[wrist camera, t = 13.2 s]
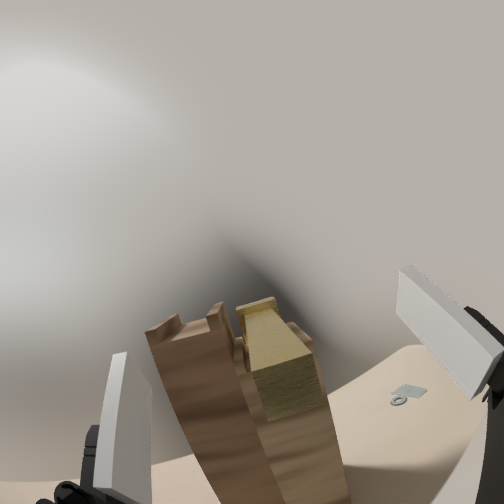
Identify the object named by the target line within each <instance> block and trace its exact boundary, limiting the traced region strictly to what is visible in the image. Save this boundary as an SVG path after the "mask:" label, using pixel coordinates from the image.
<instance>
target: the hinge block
mask: <svg viewBox="0 0 504 504" xmlns="http://www.w3.org/2000/svg"><path fill="white" fill-rule="evenodd" d="M286 325H287V326H288V327H289V328H290V329H291V330H292V332H293V333H294V334H295V335H296V336H297V337H298V338H299V339H300V340H301V341H302V343H303V344H304V345H305V346H306V347H307V348H308V349H309V350H310V351H311V352H312V355H313V359H314V363H315V367H316V370H317V374H318V378H319V382H320V386H321V390H322V394H323V398H324V402H325V404H323V405H320V406H317V407H315V408H312V409H309V410H306V411H303V412H300V413H296V414H293V415H290V416H287V417H284V418H280V419H277V420H273V421H270V422H268V420H267V417H266V414H265V411H264V408H263V405H262V402H261V399H260V396H259V393H258V390H257V387H256V384H255V381H254V378H253V375H252V372H251V365H250V357H249V348H248V344H247V345H244V341H243V338H242V337H239V338H234V334H233V331H232V328H231V325H230V321H229V318H228V315H227V312H226V309H225V305H224V302H220V303H216V304H215V305H214V306H213V307H212V309H211V310H210V311H209V313H208V314H207V315H206V318H204V319H201V320H196V321H193V322H189V323H185V324H181V322H180V319H179V315H178V314H176V315H172V316H169V317H168V318H166V319H165V320H163V321H161V322H160V323H158V324H157V325H155V326H153V327H152V328H150V329H149V330H147V331H145V334H146V337H147V340H148V343H149V346H150V349H151V352H152V355H153V358H154V361H155V363H156V366H157V369H158V372H159V374H160V377H161V380H162V382H163V385H164V387H165V390H166V392H167V395H168V397H169V400H170V402H171V404H172V407H173V409H174V412H175V414H176V416H177V418H178V421H179V423H180V425H181V427H182V430H183V432H184V434H185V436H186V438H187V440H188V442H189V444H190V446H191V449H192V451H193V452H194V455H195V457H196V459H197V461H198V463H199V464H200V466H201V468H202V470H203V472H204V474H205V476H206V478H207V480H208V481H209V483H210V485H211V487H212V489H213V490H214V492H215V494H216V495H217V497H218V499H219V501H220V502H221V504H351V501H350V496H349V491H348V487H347V482H346V477H345V472H344V467H343V463H342V458H341V454H340V449H339V445H338V440H337V436H336V432H335V427H334V423H333V419H332V414H331V410H330V406H329V402H328V398H327V394H326V390H325V386H324V382H323V378H322V374H321V370H320V366H319V363H318V358H317V354H316V351H315V347H314V343H313V340H312V339H311V338H310V337H309V336H308V335H307V334H306V333H304V332H303V331H302V330H301V329H300V328H299V327H298V326H297V325H296V324H295V323H293V322H289V323H286Z"/></svg>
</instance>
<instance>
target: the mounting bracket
mask: <svg viewBox="0 0 504 504" xmlns="http://www.w3.org/2000/svg"><path fill="white" fill-rule="evenodd" d="M426 391H427V390H426V389H425V388H420V387H416V386H412V385H407V384H405V385H402V386H401V387H399V388H398V389H397V390H396V391H394V392H393V393H392V394H393V395H399V396H397V397H394V398H393V399H392V400H391V405H394V406H398V405H401V404H403V403H405V402H406V397H405V396H407V397H414V398H420V397H421V396H422V395H423V394H424V393H425V392H426ZM397 399H402V401H401V402H398V403H396V402H394V401H395V400H397Z"/></svg>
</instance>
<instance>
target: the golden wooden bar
mask: <svg viewBox="0 0 504 504" xmlns="http://www.w3.org/2000/svg"><path fill="white" fill-rule="evenodd" d="M236 312H237V315H238V318H239V322H240V325H241V328H242V332H243V335H244V338H245V341H246V344H248V348H249V357H250V365H251V372H252V375H253V378H254V381H255V384H256V387H257V390H258V393H259V396H260V399H261V402H262V405H263V408H264V411H265V414H266V417H267V420H268V422H270V421H273V420H277V419H280V418H284V417H287V416H290V415H293V414H296V413H300V412H303V411H306V410H309V409H312V408H315V407H317V406H320V405H323V404H325V402H324V398H323V394H322V390H321V386H320V382H319V378H318V374H317V370H316V367H315V363H314V359H313V355H312V352H311V351H310V350H309V349H308V348H307V347H306V346H305V345H304V344H303V343H302V341H301V340H300V339H299V338H298V337H297V336H296V335H295V334H294V333H293V332H292V330H291V329H290V328H289V327H288V326H287V325H286V324H285V323H284V322H283V320H282V319H281V317H280V314H279V310H278V307H277V303H276V300H275V298H273V297H269V298H266V299H263V300H259V301H256V302H252V303H249V304H246V305H242V306H239V307H236Z"/></svg>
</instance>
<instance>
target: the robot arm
mask: <svg viewBox="0 0 504 504" xmlns="http://www.w3.org/2000/svg"><path fill="white" fill-rule="evenodd" d="M396 314H397V315H398V316H399V317H400V319H402V321H403V322H404V323H405V324H406V325H407V326H408V327H409V328H410V330H411V331H412V332H413V333H414V334H415V335H416V336H417V337H418V339H419V340H420V341H421V342H422V343H423V344H424V345H425V347H426V348H427V349H428V350H429V351H430V352H431V354H432V355H433V356H434V357H435V358H436V359H437V361H438V362H439V363H440V364H441V365H442V366H443V368H444V369H445V370H446V371H447V372H448V374H449V375H450V376H451V377H452V378H453V380H454V381H455V382H456V383H457V385H458V386H459V387H460V388H461V390H462V391H463V392H464V393H465V395H466V396H467V397H468V398H469V400H472V399H473V398H474V397H476V396H477V395H478V394H479V393H481V392H482V390H483V389H484V387H485V385H486V384H488V385H489V386H490V387H489V389H488V391H487V392H486V394H485V395H484V397H483V400H482V402H484V401H485V400H486V398H487V397H488V401H487V402H488V418H487V433H486V445H485V453H484V460H483V467H482V473H481V479H480V484H479V489H478V494H477V498H476V502H475V504H504V335H503V334H502V333H501V332H500V331H499V330H498V329H497V328H496V327H495V326H494V325H492V324H491V323H490V322H489V321H488V320H487V319H485V317H484V316H483V315H481V313H479V312H478V311H477V310H475V309H473V308H470V307H468V306H467V307H465V308H464V309H463V308H462V307H461V306H459V305H458V304H457V303H456V302H455V301H454V300H453V299H451V298H450V297H449V296H448V295H447V294H446V293H444V292H443V291H442V290H441V289H440V288H439V287H437V286H436V285H435V284H434V283H433V282H431V281H430V280H429V279H428V278H426V277H425V276H424V275H423V274H422V273H420V272H419V271H418V270H416V269H415V268H414V267H413V266H412V265H411V266H408V267H406V268H404V269H401V270H399V284H398V295H397V305H396ZM152 390H153V389H152V387H151V385H150V384H149V383H148V381H147V380H146V378H145V377H144V376H143V374H142V373H141V371H140V370H139V368H138V367H137V365H136V364H135V363H134V361H133V360H132V358H131V357H130V355H129V354H128V352H123V353H118V354H114V355H113V358H112V362H111V367H110V371H109V376H108V381H107V386H106V391H105V397H104V402H103V408H102V414H101V420H100V425H92V426H91V428H90V430H89V431H88V433H87V435H86V441H85V448H84V457H83V462H82V470H81V480H80V486H78V485H77V484H75V483H73V482H71V481H64V482H61V483H60V484H59V485H58V486H57V487H56V489H55V492H54V500H55V503H54V502H52V501H50V500H48V499H40V500H38V501H37V502H36V504H152V489H151V412H152Z"/></svg>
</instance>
